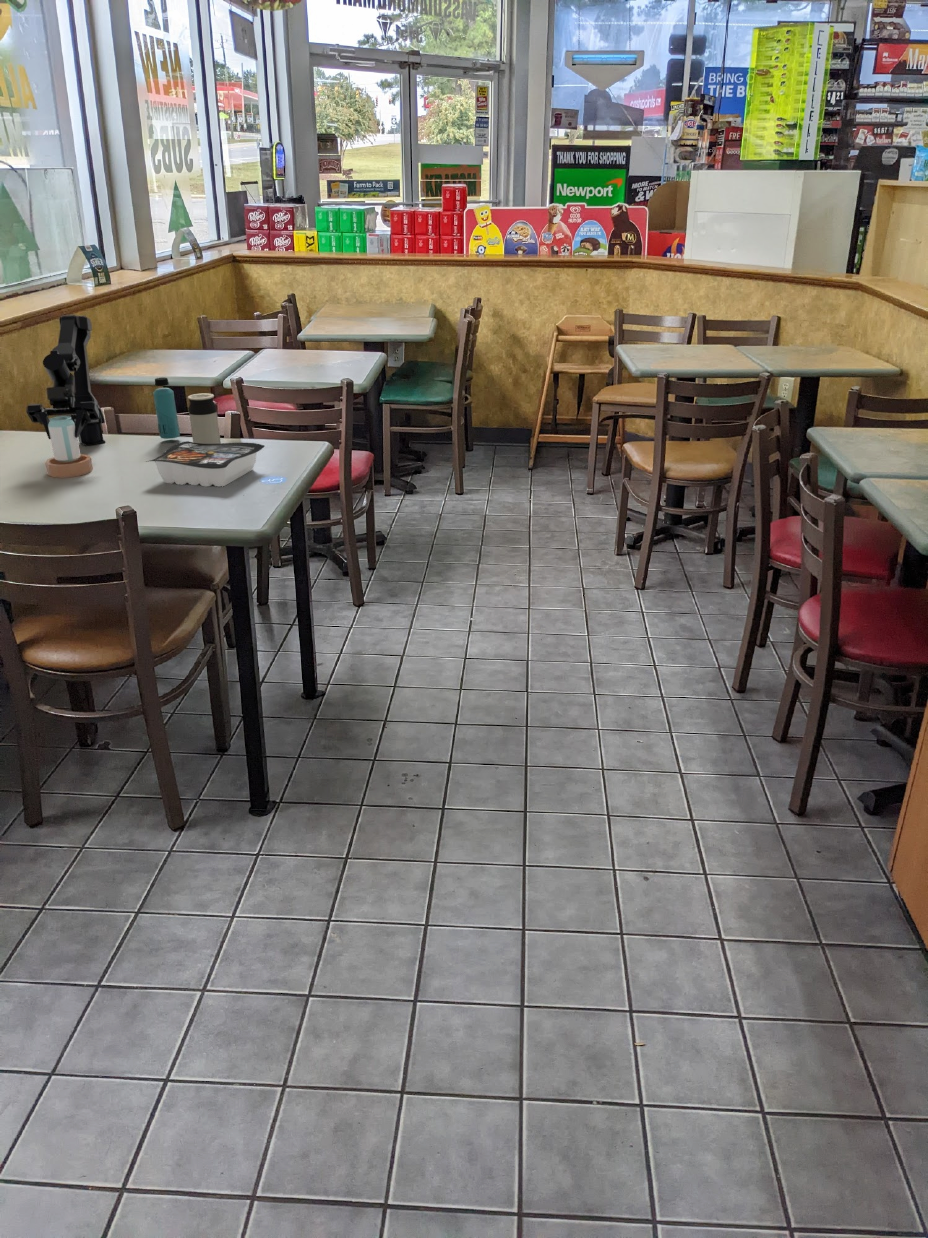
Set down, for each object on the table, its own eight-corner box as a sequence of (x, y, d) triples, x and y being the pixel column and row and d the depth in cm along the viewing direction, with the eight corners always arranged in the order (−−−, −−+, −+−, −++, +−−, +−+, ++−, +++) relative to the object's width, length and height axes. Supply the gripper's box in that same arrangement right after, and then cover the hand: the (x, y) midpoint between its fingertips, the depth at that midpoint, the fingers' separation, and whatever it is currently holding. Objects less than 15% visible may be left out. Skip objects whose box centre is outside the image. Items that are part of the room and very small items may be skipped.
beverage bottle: (184, 438, 316) (175, 375, 308) (176, 443, 310) (167, 379, 302) (164, 438, 317) (155, 375, 308) (156, 443, 311) (146, 379, 302)
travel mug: (215, 459, 292) (207, 398, 284) (190, 458, 293) (182, 398, 286) (226, 452, 299) (219, 393, 291) (202, 451, 300) (194, 392, 293)
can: (53, 458, 283) (44, 417, 278) (78, 454, 286) (70, 413, 281) (57, 464, 278) (49, 422, 273) (83, 460, 281) (75, 418, 276)
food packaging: (143, 459, 266) (187, 438, 286) (147, 486, 269) (190, 463, 289) (225, 464, 260) (264, 443, 279) (229, 491, 263) (267, 468, 282)
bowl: (84, 463, 291) (82, 451, 289) (98, 471, 282) (95, 460, 281) (43, 470, 284) (40, 459, 283) (55, 479, 276) (52, 467, 274)
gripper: (20, 376, 274) (18, 424, 269) (89, 372, 277) (89, 420, 272) (33, 398, 285) (31, 445, 280) (99, 394, 287) (99, 441, 282)
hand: (62, 437), depth 278 cm, fingers closed on can, 7 cm apart
